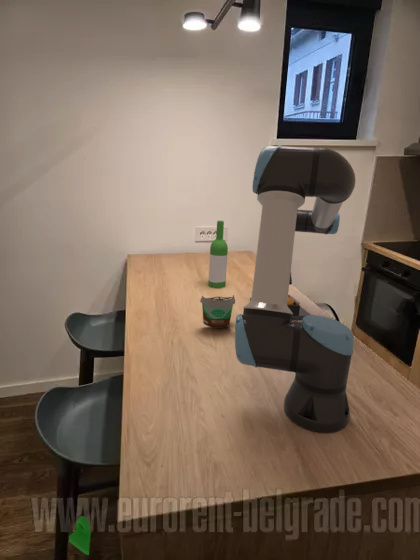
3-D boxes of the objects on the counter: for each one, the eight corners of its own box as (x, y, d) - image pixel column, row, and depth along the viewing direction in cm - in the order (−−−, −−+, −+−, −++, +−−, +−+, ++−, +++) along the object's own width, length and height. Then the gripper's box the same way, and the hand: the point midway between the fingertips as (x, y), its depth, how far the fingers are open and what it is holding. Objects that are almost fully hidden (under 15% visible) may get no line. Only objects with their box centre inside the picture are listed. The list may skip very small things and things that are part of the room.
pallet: (311, 319, 141) (313, 305, 139) (267, 320, 137) (269, 306, 135) (288, 300, 160) (289, 287, 159) (249, 301, 156) (250, 288, 155)
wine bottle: (228, 289, 170) (232, 222, 162) (211, 290, 167) (215, 222, 159) (221, 284, 177) (225, 219, 169) (205, 285, 174) (208, 219, 166)
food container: (203, 330, 126) (204, 301, 123) (199, 323, 132) (200, 295, 129) (238, 328, 129) (240, 300, 126) (232, 321, 135) (234, 294, 132)
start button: (295, 308, 139) (296, 300, 138) (283, 308, 138) (284, 300, 137) (290, 304, 143) (291, 296, 143) (279, 304, 142) (280, 296, 142)
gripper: (305, 248, 134) (298, 305, 140) (278, 236, 157) (273, 285, 163) (285, 248, 132) (279, 306, 138) (261, 236, 156) (256, 285, 162)
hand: (276, 294), depth 151 cm, fingers open, 13 cm apart
